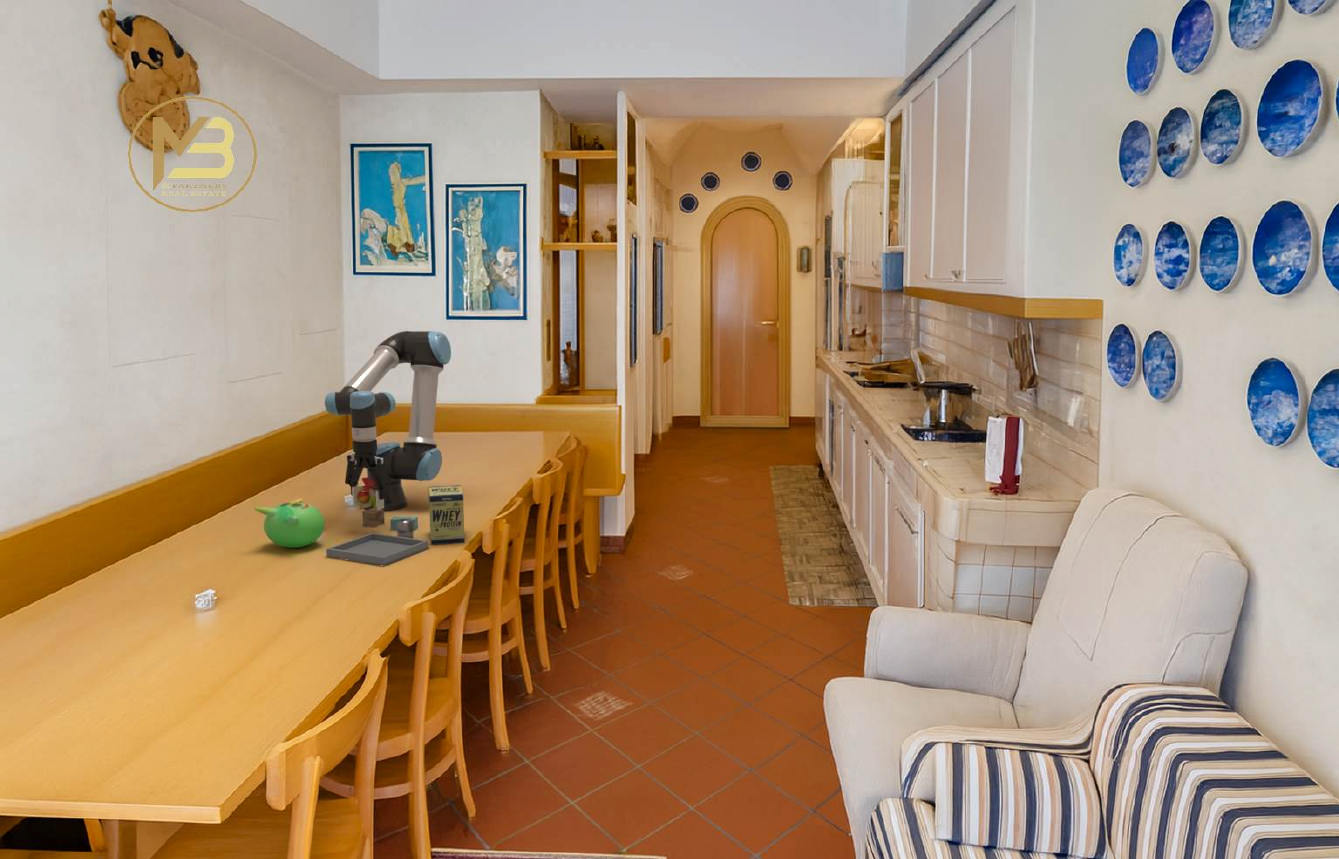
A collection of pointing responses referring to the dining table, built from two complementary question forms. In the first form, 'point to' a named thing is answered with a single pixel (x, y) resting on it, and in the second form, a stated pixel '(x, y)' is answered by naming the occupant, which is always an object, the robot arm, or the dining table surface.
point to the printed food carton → (366, 494)
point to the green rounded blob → (292, 523)
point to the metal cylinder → (405, 528)
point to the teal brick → (394, 520)
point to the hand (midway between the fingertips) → (368, 507)
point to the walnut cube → (373, 517)
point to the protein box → (446, 514)
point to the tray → (377, 549)
